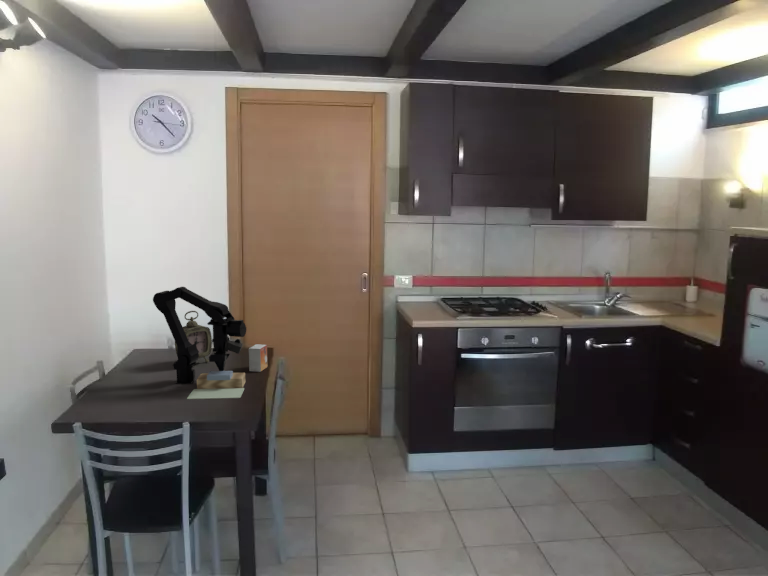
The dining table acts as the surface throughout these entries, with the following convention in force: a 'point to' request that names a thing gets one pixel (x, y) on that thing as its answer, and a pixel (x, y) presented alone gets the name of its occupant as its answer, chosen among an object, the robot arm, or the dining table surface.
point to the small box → (258, 357)
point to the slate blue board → (219, 375)
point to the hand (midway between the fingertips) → (222, 372)
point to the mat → (216, 393)
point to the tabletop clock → (198, 337)
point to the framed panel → (221, 382)
